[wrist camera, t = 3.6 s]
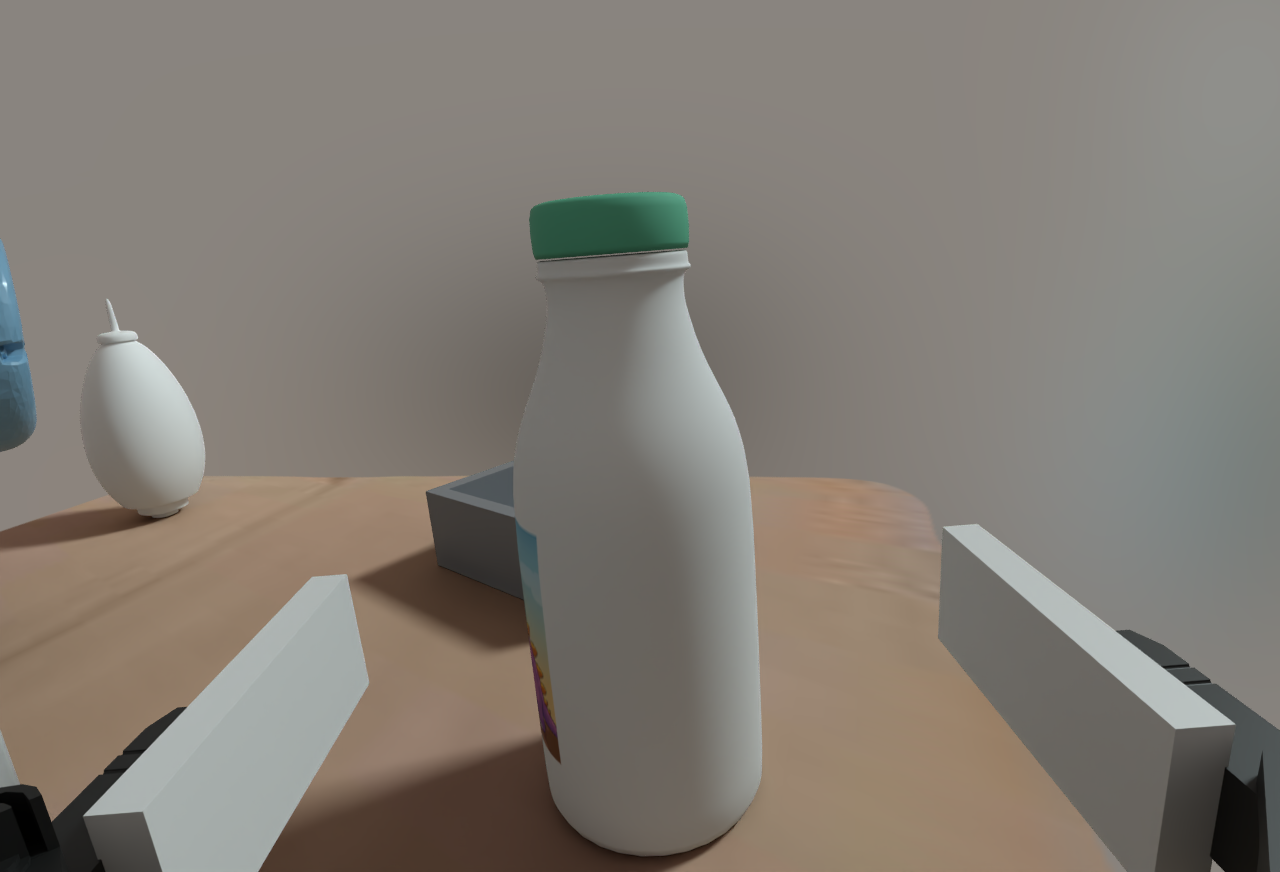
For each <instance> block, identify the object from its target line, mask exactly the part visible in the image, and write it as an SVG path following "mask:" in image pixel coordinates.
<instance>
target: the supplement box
mask: <svg viewBox="0 0 1280 872" xmlns="http://www.w3.org/2000/svg"><path fill="white" fill-rule="evenodd" d="M14 785H20V783H19V780H18V777H17V775H16V772H15V769H14V767H13V764H12V761H11V758H10V756H9V753H8V750H7V747H6V745H5V742H4V739H3V736H2V734H1V731H0V788H1V787H7V786H14Z"/></svg>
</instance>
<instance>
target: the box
mask: <svg viewBox="0 0 1280 872" xmlns="http://www.w3.org/2000/svg"><path fill="white" fill-rule="evenodd" d="M513 467H514V461H511V462H509V463H506V464H503V465H500V466H497V467H494V468H491V469H489V470H486V471H483V472H480V473H477V474H474V475H471V476H468V477H466V478H463V479H460V480H457V481H454V482H451V483H448V484H445V485H443V486H440V487H437V488H434V489H431V490H428V491H426V496H427V502H428V508H429V514H430V520H431V526H432V532H433V538H434V544H435V550H436V556H437V562H438V565H440V566H442V567H445V568H447V569H449V570H452V571H454V572H457V573H459V574H462V575H464V576H467V577H469V578H471V579H474V580H476V581H479V582H481V583H484V584H486V585H489V586H491V587H493V588H496V589H498V590H501V591H503V592H506V593H508V594H511V595H513V596H515V597H518V598H520V599H523V600H524V595H523V587H522V579H521V570H520V562H519V554H518V544H517V533H516V522H515V510H514V499H513Z"/></svg>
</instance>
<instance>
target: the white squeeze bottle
mask: <svg viewBox="0 0 1280 872" xmlns="http://www.w3.org/2000/svg"><path fill="white" fill-rule="evenodd" d="M106 308H107V314H108V318H109V322H110V327H111V332H108V333H103V334H100V335H98V336H97V343H99V344H101V345H100V346H99V347H98V349H97V350H96V351H95V353H94V355H93V357H92V358H91V361H90V363H89V366H88V368H87V372H86V375H85V379H84V383H83V389H82V396H81V407H80V424H81V433H82V440H83V444H84V449H85V452H86V455H87V458H88V461H89V464H90V466H91V468H92V471H93V473H94V474H95V476H96V478H97V479H98V481H99V482H100V484H101V485H102V487H103V488H104V489H105V490H106V492H107V493H108V494H109V495H110V496H111V497H112V498H113V499H114V500H115V501H117V502H118V503H119V504H120V505H121V506H122V507H124V508H127V509H137V512H138V513H139V514H140V515H144V516H152V517H153V518H162V517H167V516H170V515H173V514H175V513H177V512H178V509H180V508H182V507H184V506H186V505H187V504H188V497H190V496H192V495H194V494H195V493H197V491H198V490H199V487H200V484H201V481H202V478H203V474H204V467H205V447H204V440H203V436H202V431H201V428H200V425H199V421H198V419H197V416H196V413H195V411H194V409H193V407H192V405H191V403H190V401H189V399H188V397H187V395H186V394H185V392H184V390H183V388H182V387H181V386H180V384H179V383H178V382H177V380H176V378H175V377H174V376H173V374H172V373H171V372H170V370H169V369H168V368H167V367H166V365H165V364H164V363H163V362H162V361H161V360H160V359H159V358H158V357H157V356H156V355H155V354H154V353H153V352H152V351H151V350H149V349H148V348H147V347H145V346H144V345H143V344H141V343H139V342H137V341H135V340H137V339H138V335H137V334H136V333H135V332H134V331H120V330H119V327H118V324H117V321H116V318H115V315H114V312H113V309H112V306H111V304H110V302H109V300H108V299H106Z"/></svg>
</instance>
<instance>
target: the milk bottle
mask: <svg viewBox="0 0 1280 872" xmlns="http://www.w3.org/2000/svg"><path fill="white" fill-rule="evenodd" d="M529 221H530V235H531V243H532V250H533V254H534V257H535V259H536V260H538V259H551V258H564V257H576V256H588V255H602V254H614V253H627V252H639V251H651V250H664V249H676V248H687V247H688V243H689V223H688V214H687V206H686V203H685V200H684V198H683V197H682V196H681V195H678V194H674V193H667V192H639V193H618V194H605V195H593V196H583V197H574V198H568V199H560V200H555V201H548V202H545V203H541V204H538V205H536V206H534V207H533V208H532V209H531V211H530V219H529ZM690 266H691V265H690V263H689V262H688V255H687V251H686V250H676V251H663V252H650V253H637V254H623V255H611V256H599V257H587V258H574V259H562V260H551V261H540V262H538V263H537V276H536V280H538V281H540V282H541V283H542V284H543V286H544V289H545V292H546V300H547V317H546V327H545V335H544V341H543V347H542V352H541V358H540V363H539V366H538V370H537V374H536V378H535V380H534V384H533V387H532V390H531V393H530V396H529V399H528V402H527V405H526V408H525V411H524V415H523V419H522V422H521V425H520V429H519V433H518V438H517V443H516V449H515V457H514V467H513V499H514V510H515V522H516V533H517V544H518V554H519V562H520V570H521V579H522V587H523V595H524V603H525V611H526V619H527V627H528V635H529V643H530V650H531V658H532V666H533V673H534V681H535V688H536V696H537V703H538V711H539V718H540V726H541V733H542V740H543V748H544V755H545V762H546V768H547V774H548V780H549V785H550V790H551V794H552V797H553V800H554V802H555V804H556V806H557V808H558V809H559V811H560V812H561V814H562V815H563V816H564V818H565V819H566V820H567V822H568V823H569V824H570V825H571V826H572V827H573V828H574V829H575V830H577V831H578V832H579V833H580V834H581V835H582V836H583V837H584V838H586V839H588V840H590V841H592V842H593V843H595V844H597V845H598V846H600V847H603V848H606V849H610V850H612V851H615V852H618V853H622V854H630V855H636V856H666V855H671V854H675V853H681V852H687V851H689V850H692V849H694V848H697V847H700V846H703V845H705V844H708V843H709V842H711V841H713V840H714V839H716V838H717V837H719V836H721V835H723V834H725V833H726V832H727V831H728V830H729V829H730V828H731V827H732V826H733V825H734V824H736V823H737V822H738V821H739V820H740V819H741V817H742V816H743V814H744V813H745V811H746V810H747V809H748V807H749V806H750V804H751V802H752V800H753V798H754V796H755V794H756V792H757V790H758V787H759V784H760V780H761V774H762V729H761V699H760V672H759V646H758V619H757V597H756V576H755V554H754V533H753V519H752V507H751V494H750V482H749V474H748V469H747V463H746V457H745V451H744V447H743V443H742V440H741V436H740V432H739V429H738V426H737V423H736V421H735V418H734V415H733V413H732V411H731V409H730V407H729V404H728V403H727V400H726V398H725V396H724V394H723V392H722V390H721V388H720V387H719V385H718V383H717V381H716V379H715V377H714V375H713V373H712V371H711V369H710V367H709V366H708V363H707V361H706V359H705V357H704V355H703V352H702V350H701V348H700V345H699V342H698V340H697V337H696V335H695V332H694V329H693V326H692V323H691V320H690V316H689V313H688V310H687V306H686V301H685V295H684V286H683V278H684V274H685V271H686V270H687V269H689V268H690Z"/></svg>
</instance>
